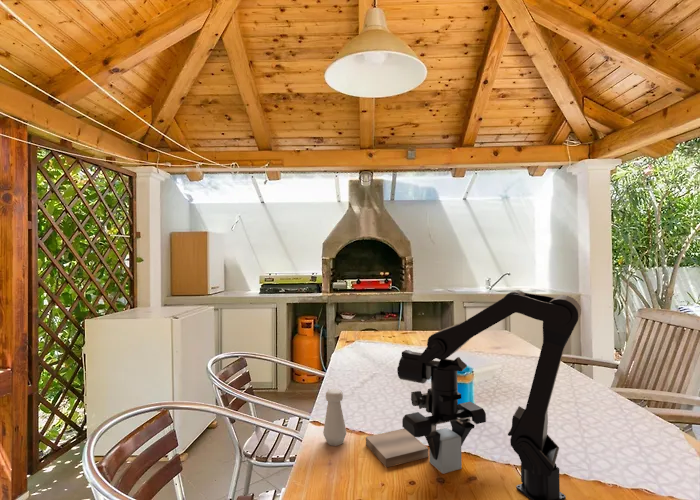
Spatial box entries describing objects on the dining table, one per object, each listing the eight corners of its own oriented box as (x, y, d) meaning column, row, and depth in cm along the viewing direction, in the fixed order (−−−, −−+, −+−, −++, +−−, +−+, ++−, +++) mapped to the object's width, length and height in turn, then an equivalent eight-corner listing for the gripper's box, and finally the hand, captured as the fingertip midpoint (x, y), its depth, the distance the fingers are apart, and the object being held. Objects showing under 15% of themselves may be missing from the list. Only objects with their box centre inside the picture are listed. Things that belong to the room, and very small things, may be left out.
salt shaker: (343, 448, 98) (342, 395, 98) (321, 446, 99) (319, 394, 99) (348, 437, 103) (347, 387, 103) (327, 435, 105) (326, 386, 104)
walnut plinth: (428, 456, 93) (428, 448, 93) (386, 467, 89) (386, 458, 89) (404, 436, 104) (404, 428, 103) (365, 444, 99) (365, 436, 99)
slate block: (461, 468, 88) (461, 437, 88) (442, 473, 86) (442, 441, 86) (448, 457, 93) (447, 427, 93) (429, 462, 91) (429, 431, 91)
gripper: (456, 370, 100) (457, 432, 101) (390, 381, 93) (391, 448, 94) (487, 385, 90) (488, 454, 90) (415, 398, 83) (416, 473, 83)
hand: (445, 456), depth 90 cm, fingers closed on slate block, 5 cm apart
